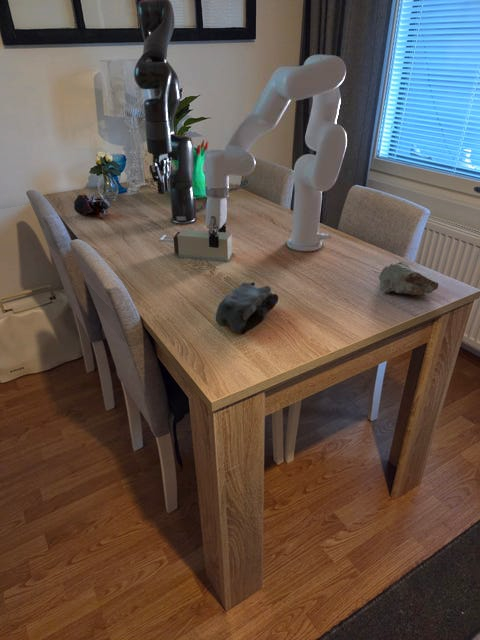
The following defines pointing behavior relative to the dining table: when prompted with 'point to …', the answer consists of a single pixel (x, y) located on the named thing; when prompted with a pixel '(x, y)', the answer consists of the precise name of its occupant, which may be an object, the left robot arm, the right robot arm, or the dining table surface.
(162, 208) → the dining table surface
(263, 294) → the rock
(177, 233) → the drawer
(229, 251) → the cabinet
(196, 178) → the toy
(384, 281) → the artifact
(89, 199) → the toy
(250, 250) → the dining table surface
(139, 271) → the dining table surface
